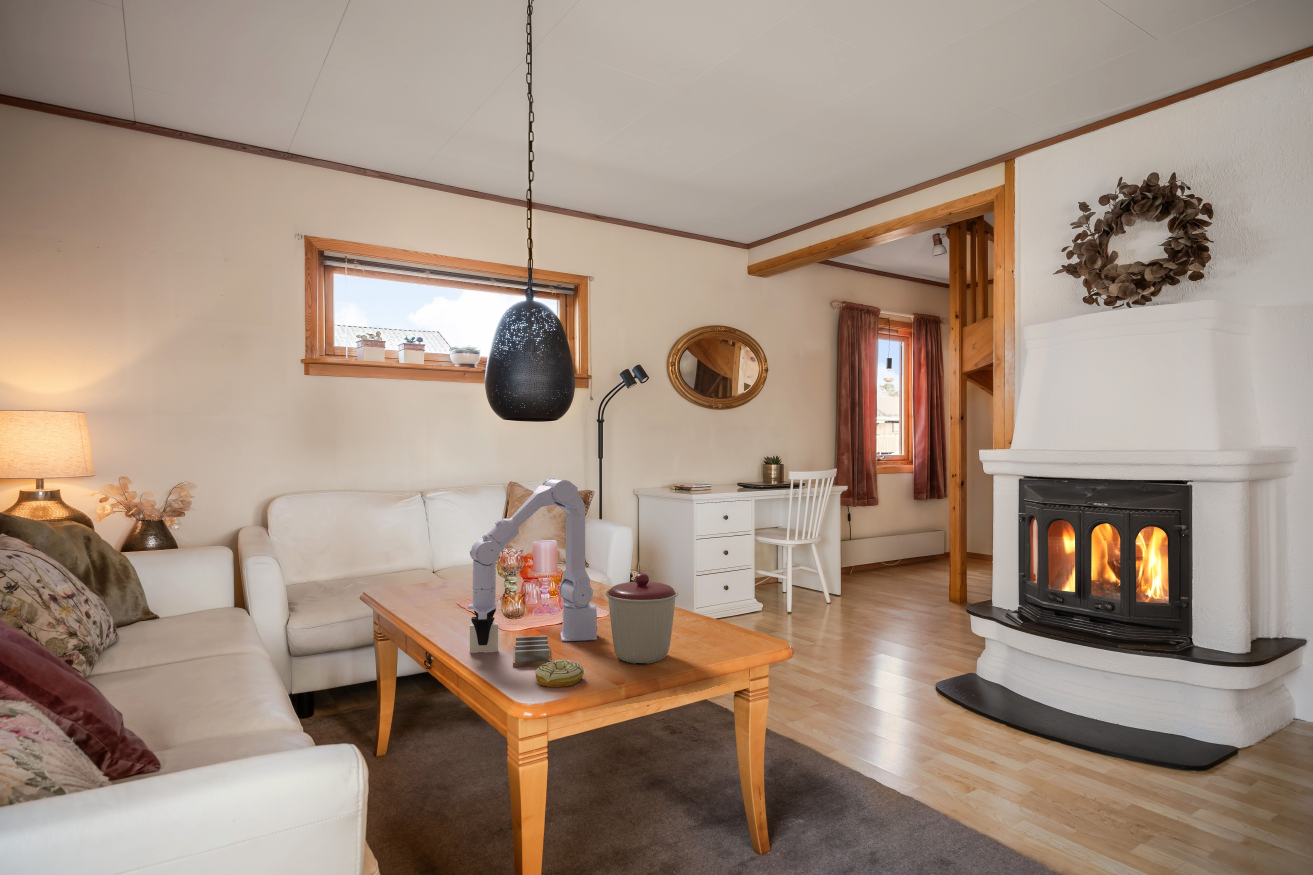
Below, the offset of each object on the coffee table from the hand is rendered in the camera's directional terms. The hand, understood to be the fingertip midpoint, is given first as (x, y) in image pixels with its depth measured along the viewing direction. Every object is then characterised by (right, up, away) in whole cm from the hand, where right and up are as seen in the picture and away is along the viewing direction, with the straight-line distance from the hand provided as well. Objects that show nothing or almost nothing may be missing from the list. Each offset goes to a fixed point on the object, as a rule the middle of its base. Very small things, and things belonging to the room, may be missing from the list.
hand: (483, 640), depth 183 cm
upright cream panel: (0, -3, 0) cm, 3 cm away
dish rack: (+13, -3, -5) cm, 14 cm away
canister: (+41, -3, -5) cm, 41 cm away
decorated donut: (+22, -3, -22) cm, 31 cm away
